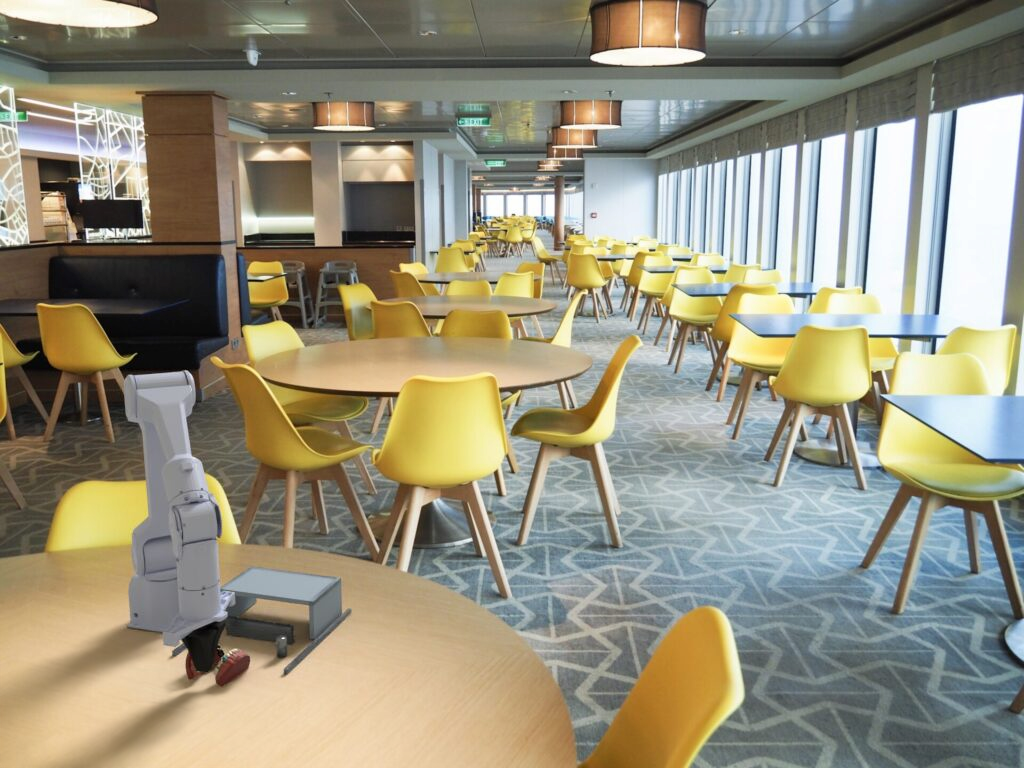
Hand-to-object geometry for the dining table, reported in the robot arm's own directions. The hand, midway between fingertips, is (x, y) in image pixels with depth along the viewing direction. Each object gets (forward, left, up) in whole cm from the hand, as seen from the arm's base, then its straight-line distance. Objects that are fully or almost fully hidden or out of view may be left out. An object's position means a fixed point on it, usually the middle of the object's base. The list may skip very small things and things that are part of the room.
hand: (204, 669), depth 128 cm
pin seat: (0, +17, -2) cm, 17 cm away
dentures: (0, +4, -3) cm, 4 cm away
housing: (0, +22, -2) cm, 22 cm away
